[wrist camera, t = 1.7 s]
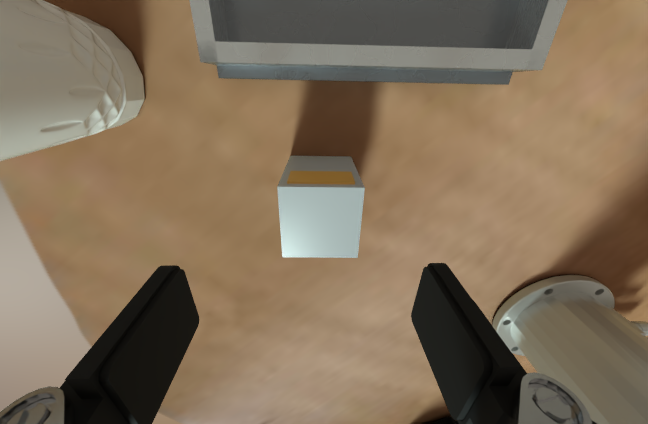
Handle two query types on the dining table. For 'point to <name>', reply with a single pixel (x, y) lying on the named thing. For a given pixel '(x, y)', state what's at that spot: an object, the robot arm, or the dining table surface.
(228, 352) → the dining table surface
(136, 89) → the white cup
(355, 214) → the block
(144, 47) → the dining table surface
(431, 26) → the rail
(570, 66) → the dining table surface
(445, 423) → the cpu cooler
